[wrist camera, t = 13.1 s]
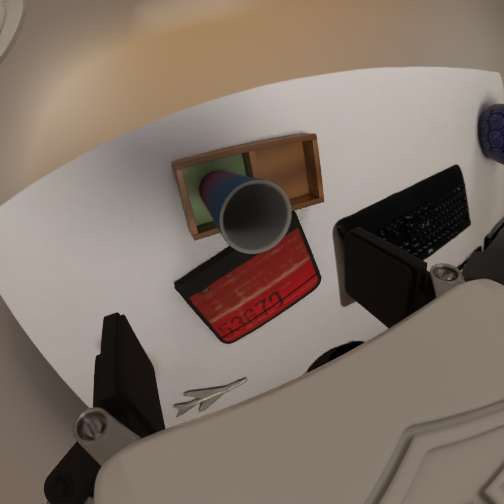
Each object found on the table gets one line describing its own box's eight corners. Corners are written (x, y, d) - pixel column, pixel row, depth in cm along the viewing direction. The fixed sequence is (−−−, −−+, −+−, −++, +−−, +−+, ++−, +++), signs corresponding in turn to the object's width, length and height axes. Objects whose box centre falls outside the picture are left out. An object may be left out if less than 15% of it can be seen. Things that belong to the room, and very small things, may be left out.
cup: (236, 215, 41) (282, 256, 28) (188, 210, 38) (213, 251, 25) (245, 168, 39) (299, 186, 26) (196, 160, 36) (227, 174, 23)
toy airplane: (252, 386, 58) (256, 394, 56) (167, 422, 54) (169, 430, 52) (241, 366, 54) (244, 374, 52) (149, 405, 50) (150, 414, 48)
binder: (174, 289, 41) (296, 210, 43) (172, 281, 43) (288, 206, 45) (227, 350, 49) (326, 284, 51) (223, 342, 51) (319, 278, 53)
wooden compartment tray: (171, 161, 36) (174, 164, 33) (302, 133, 41) (316, 133, 37) (189, 231, 41) (194, 240, 37) (310, 196, 45) (324, 202, 42)
